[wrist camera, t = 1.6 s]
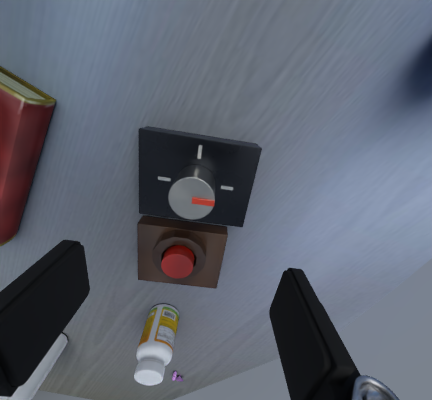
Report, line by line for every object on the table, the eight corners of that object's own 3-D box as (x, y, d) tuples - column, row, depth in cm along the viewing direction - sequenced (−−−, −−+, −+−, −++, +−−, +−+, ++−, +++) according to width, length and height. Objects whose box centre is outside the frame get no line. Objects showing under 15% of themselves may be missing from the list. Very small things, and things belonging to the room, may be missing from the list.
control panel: (146, 203, 27) (138, 214, 24) (147, 126, 23) (137, 128, 20) (240, 215, 28) (242, 228, 25) (256, 143, 24) (262, 148, 21)
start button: (163, 267, 27) (160, 276, 26) (165, 243, 26) (161, 252, 24) (192, 270, 28) (191, 280, 26) (195, 247, 26) (194, 256, 24)
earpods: (181, 368, 46) (186, 372, 45) (179, 376, 46) (184, 380, 45) (171, 369, 45) (176, 373, 43) (169, 378, 44) (174, 382, 43)
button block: (142, 269, 32) (133, 289, 28) (142, 215, 28) (132, 231, 24) (216, 277, 33) (216, 298, 29) (227, 226, 29) (228, 243, 25)
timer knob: (175, 198, 24) (166, 218, 19) (178, 161, 22) (168, 174, 17) (212, 203, 24) (211, 224, 20) (218, 167, 22) (218, 182, 18)
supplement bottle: (153, 323, 38) (134, 389, 29) (146, 304, 35) (123, 368, 27) (181, 321, 37) (171, 387, 29) (176, 301, 35) (163, 366, 26)
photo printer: (37, 353, 42) (-29, 444, 31) (20, 342, 40) (-56, 433, 29) (73, 339, 40) (17, 430, 28) (57, 327, 38) (-10, 418, 27)
